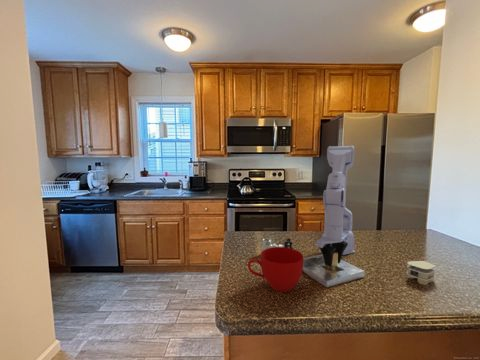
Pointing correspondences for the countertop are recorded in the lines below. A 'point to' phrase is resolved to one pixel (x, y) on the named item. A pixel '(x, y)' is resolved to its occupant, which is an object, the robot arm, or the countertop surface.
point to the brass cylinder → (333, 263)
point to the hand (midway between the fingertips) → (332, 263)
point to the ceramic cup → (280, 267)
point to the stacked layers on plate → (421, 271)
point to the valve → (267, 244)
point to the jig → (317, 271)
